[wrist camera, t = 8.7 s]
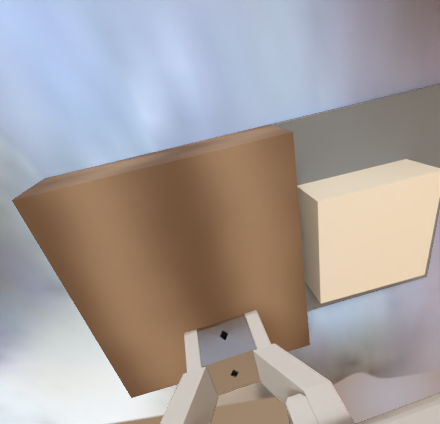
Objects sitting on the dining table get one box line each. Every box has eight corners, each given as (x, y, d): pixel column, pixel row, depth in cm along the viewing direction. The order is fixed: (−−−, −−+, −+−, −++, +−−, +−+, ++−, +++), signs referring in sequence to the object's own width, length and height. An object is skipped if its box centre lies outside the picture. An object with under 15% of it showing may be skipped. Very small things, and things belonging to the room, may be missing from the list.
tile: (302, 278, 18) (320, 303, 16) (296, 185, 15) (317, 201, 13) (394, 253, 19) (424, 274, 17) (406, 158, 16) (444, 169, 14)
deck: (137, 355, 19) (131, 397, 17) (44, 178, 13) (12, 200, 11) (291, 311, 20) (309, 344, 17) (269, 124, 14) (293, 131, 11)
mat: (291, 311, 20) (293, 314, 20) (269, 124, 14) (272, 125, 14) (422, 273, 21) (427, 276, 20) (456, 79, 15) (463, 79, 14)
